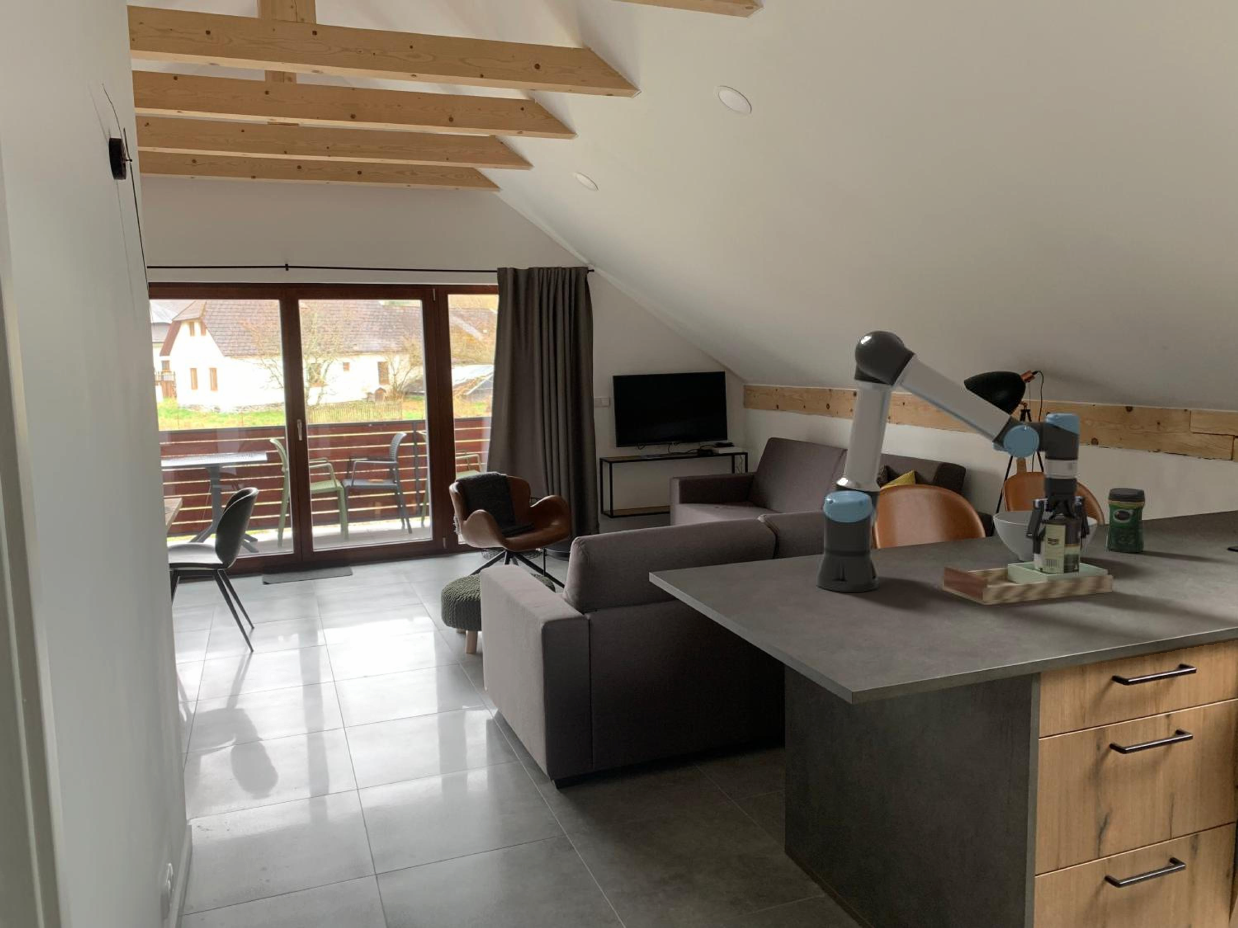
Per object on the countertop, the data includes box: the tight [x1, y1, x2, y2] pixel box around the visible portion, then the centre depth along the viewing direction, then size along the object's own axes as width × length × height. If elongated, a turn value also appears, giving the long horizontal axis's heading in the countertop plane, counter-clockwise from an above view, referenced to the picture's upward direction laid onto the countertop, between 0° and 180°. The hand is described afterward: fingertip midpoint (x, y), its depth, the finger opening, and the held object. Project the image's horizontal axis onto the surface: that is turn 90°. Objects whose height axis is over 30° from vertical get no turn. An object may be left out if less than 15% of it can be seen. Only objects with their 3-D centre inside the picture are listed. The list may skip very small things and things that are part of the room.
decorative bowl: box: [992, 510, 1099, 563], centre depth 261 cm, size 27×27×12 cm
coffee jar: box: [1105, 487, 1147, 553], centre depth 273 cm, size 10×8×19 cm
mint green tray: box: [1007, 562, 1108, 584], centre depth 231 cm, size 18×14×4 cm
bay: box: [941, 565, 1114, 606], centre depth 228 cm, size 37×16×6 cm, turn 107°
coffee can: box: [1034, 515, 1082, 575], centre depth 230 cm, size 10×10×14 cm
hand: (1056, 564), depth 231 cm, fingers closed on coffee can, 10 cm apart
